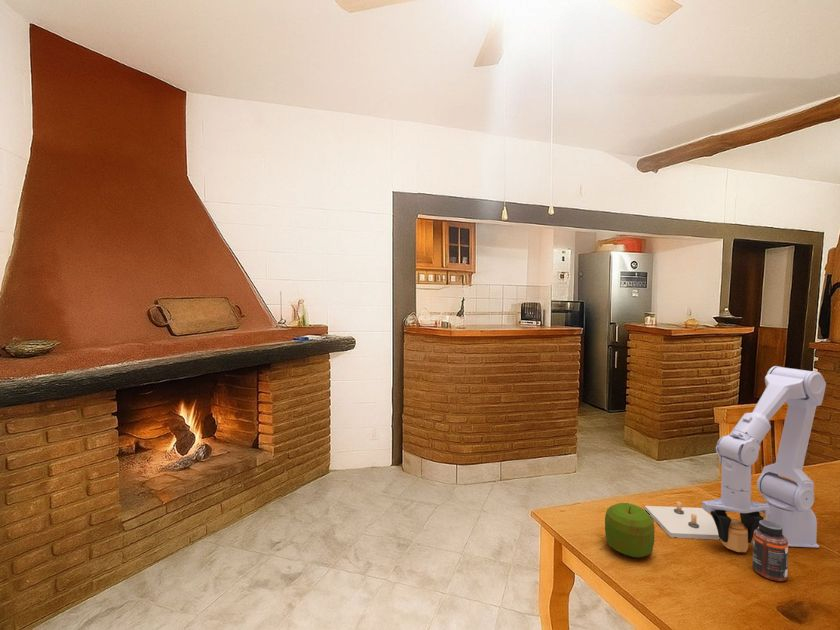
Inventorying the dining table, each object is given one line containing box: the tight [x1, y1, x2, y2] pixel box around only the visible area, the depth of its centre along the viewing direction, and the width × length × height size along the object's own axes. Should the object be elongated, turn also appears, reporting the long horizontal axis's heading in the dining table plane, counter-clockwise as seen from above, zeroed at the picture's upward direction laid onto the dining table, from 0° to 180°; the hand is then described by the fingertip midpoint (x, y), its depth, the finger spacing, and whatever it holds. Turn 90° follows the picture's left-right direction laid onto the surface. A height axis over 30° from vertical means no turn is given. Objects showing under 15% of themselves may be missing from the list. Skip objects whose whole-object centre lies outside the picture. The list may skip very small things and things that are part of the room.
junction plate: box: [644, 500, 722, 541], centre depth 111 cm, size 16×14×4 cm
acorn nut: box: [721, 518, 749, 553], centre depth 99 cm, size 5×5×6 cm
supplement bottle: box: [752, 519, 789, 582], centre depth 90 cm, size 6×6×11 cm
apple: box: [604, 502, 655, 559], centre depth 99 cm, size 11×11×11 cm
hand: (734, 540), depth 99 cm, fingers closed on acorn nut, 5 cm apart
